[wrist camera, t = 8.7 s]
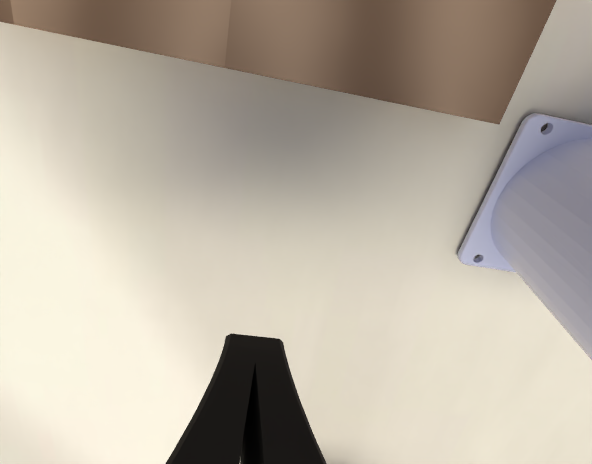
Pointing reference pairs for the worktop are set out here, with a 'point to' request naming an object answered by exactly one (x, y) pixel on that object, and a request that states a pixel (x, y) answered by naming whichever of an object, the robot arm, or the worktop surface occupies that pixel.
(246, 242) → the worktop surface
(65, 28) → the deck
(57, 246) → the worktop surface
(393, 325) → the worktop surface
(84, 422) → the worktop surface
